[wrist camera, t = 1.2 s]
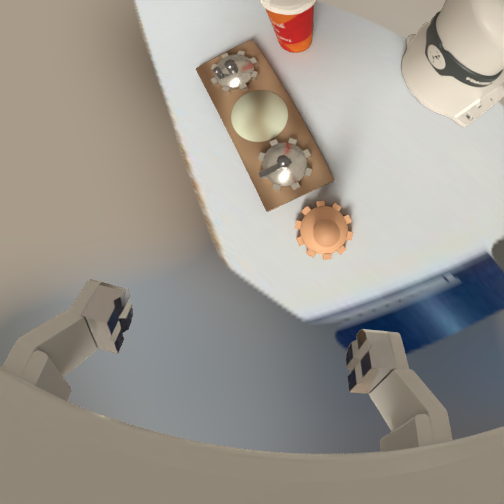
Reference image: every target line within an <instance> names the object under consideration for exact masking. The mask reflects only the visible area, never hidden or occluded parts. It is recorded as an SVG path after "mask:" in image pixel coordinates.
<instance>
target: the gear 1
mask: <svg viewBox="0 0 504 504" xmlns="http://www.w3.org/2000/svg"><path fill="white" fill-rule="evenodd" d="M221 56H222V58H223V59H222V60H221V61H220V62H219V63H218V64H213V65H212V67H211V70H212V72H214V75H215V77H214V78H212V79H211V81H212V83H213V84H214V86H215V87H216V86H218V85H219V84H220V85H221V86H222V87H223V88H222V91H223V92H224V93H228V94H230V93H231V91H232V90H236V89H241V91H242V92H244V91H246V90H248V87H247V85H248V84H249V83H250V82H251V81H252V80H257V79H258V77H259V73H258V72H256V71H255V69H254V67H255V66H257V65H258V63H257V61H256V59H255V58H254V57H253V58H251V59H249V58H248V57H246V53H245V52H244V51H238V53H237V54H234V55H230V56H229V55H228V54H227V53H225V54H223V55H221Z"/></svg>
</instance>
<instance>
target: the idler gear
mask: <svg viewBox="0 0 504 504" xmlns="http://www.w3.org/2000/svg"><path fill="white" fill-rule="evenodd" d="M316 203H317V207H316V208H314V209H312V210H311V209H310V208H309V207H308V206H307V207H306V208H304V209H303V210H302V211H301V212H302V213H303V214H304V215H305V216H304V218H303V220H302V221H298V220H296V225H295V229H300V234H301V236H300V237H297V238H296V240H297V242H298V244H299V246H301V245H303V244H305V245H306V246H307V248H309V249H308V251H307V252H306V254H308V255H310V256H311V257H314V256H315V254H316V253H318V254H322V255H323V260H326V259H331V253H333V252H335V251H337V252H338V253H339V254H340V255H341V254H342V253H343V252H344V251H345V250H346V248H345V247H344V246H343V244H344V243H345V241H346V239H347V240H352V235H353V232H350V231H348V226H347V224H349V223H351V222H352V221H351V219H350V217H349V215H346V216H343V215H342V214H341V213H340V212H339V211H340V209H341V206H339V205H338V204H336V203H334V204H333V206H332V207H328V206H325V201H317V202H316Z"/></svg>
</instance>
